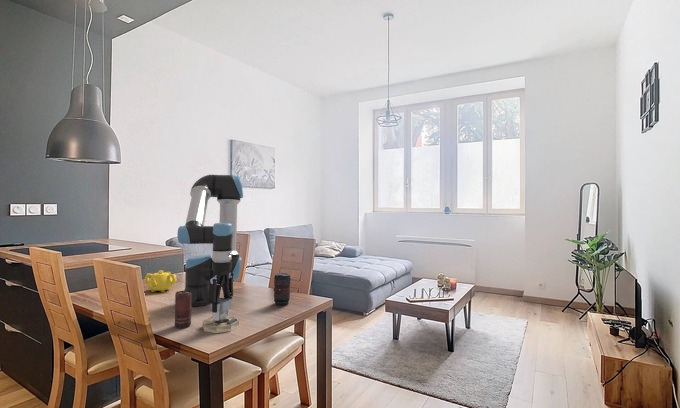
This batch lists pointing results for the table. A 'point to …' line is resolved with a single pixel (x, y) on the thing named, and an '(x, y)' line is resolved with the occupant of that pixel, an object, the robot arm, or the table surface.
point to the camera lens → (282, 289)
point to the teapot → (160, 281)
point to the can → (183, 309)
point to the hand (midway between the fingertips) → (220, 317)
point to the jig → (220, 325)
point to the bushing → (223, 309)
